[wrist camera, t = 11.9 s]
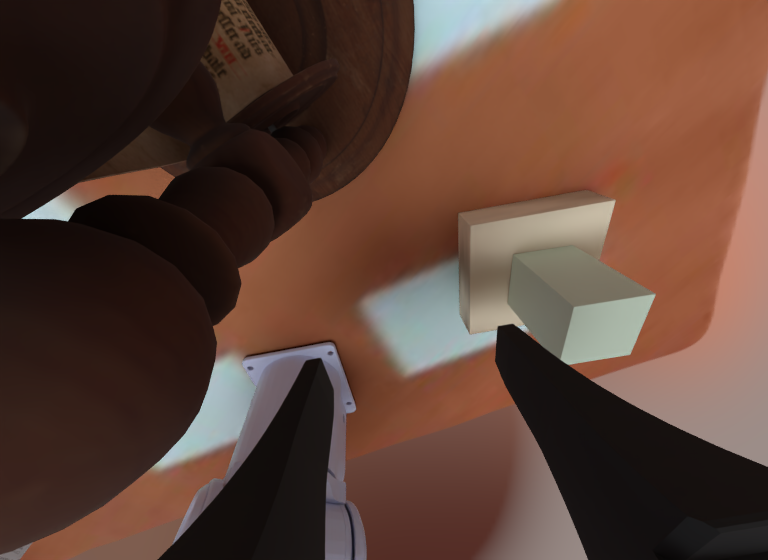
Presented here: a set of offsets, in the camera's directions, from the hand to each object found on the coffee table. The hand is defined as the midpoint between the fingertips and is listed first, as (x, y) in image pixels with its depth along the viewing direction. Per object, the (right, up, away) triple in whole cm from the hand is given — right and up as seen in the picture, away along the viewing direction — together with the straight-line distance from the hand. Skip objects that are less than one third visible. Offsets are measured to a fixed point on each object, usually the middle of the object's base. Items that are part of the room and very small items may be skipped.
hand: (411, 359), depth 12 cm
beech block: (+9, +5, +11) cm, 15 cm away
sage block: (+10, +4, +8) cm, 13 cm away
